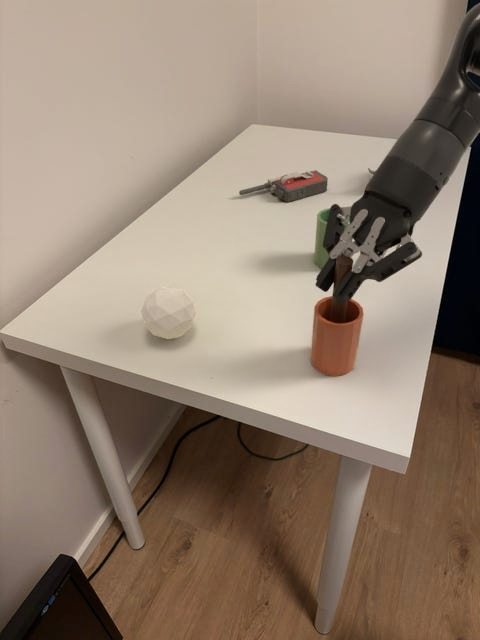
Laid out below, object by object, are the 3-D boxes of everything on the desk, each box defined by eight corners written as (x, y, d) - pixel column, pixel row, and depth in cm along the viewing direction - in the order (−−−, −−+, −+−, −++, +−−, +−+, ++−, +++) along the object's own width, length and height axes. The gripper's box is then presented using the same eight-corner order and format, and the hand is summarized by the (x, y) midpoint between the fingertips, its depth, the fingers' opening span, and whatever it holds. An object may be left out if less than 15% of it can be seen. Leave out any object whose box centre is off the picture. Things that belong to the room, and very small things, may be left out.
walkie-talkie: (310, 177, 116) (237, 197, 109) (311, 159, 113) (236, 178, 106) (333, 190, 110) (256, 212, 103) (334, 171, 107) (256, 192, 100)
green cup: (353, 256, 88) (359, 212, 83) (342, 274, 84) (347, 228, 79) (321, 249, 91) (325, 205, 85) (308, 265, 87) (311, 220, 81)
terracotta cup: (360, 353, 69) (369, 303, 63) (346, 381, 65) (354, 331, 59) (319, 340, 71) (324, 291, 66) (303, 367, 67) (307, 317, 62)
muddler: (350, 352, 68) (365, 256, 58) (341, 370, 66) (355, 272, 56) (325, 344, 70) (335, 249, 60) (315, 361, 67) (323, 264, 57)
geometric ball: (185, 339, 77) (213, 304, 73) (159, 357, 70) (188, 319, 66) (152, 306, 77) (177, 270, 74) (122, 321, 70) (149, 282, 67)
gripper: (356, 138, 58) (276, 259, 61) (457, 174, 49) (357, 314, 52) (380, 170, 64) (306, 279, 67) (474, 207, 55) (384, 331, 58)
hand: (329, 294), depth 59 cm, fingers closed
